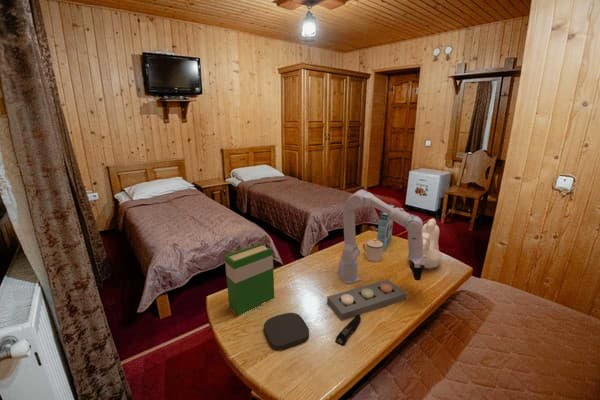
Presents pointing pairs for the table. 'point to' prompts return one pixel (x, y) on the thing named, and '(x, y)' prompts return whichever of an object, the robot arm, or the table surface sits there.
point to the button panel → (365, 305)
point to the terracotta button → (386, 288)
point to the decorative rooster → (430, 244)
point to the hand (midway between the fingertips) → (416, 275)
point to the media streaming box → (286, 331)
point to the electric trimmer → (348, 330)
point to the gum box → (385, 229)
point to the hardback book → (249, 277)
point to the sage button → (367, 293)
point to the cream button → (347, 299)
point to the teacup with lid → (374, 250)
